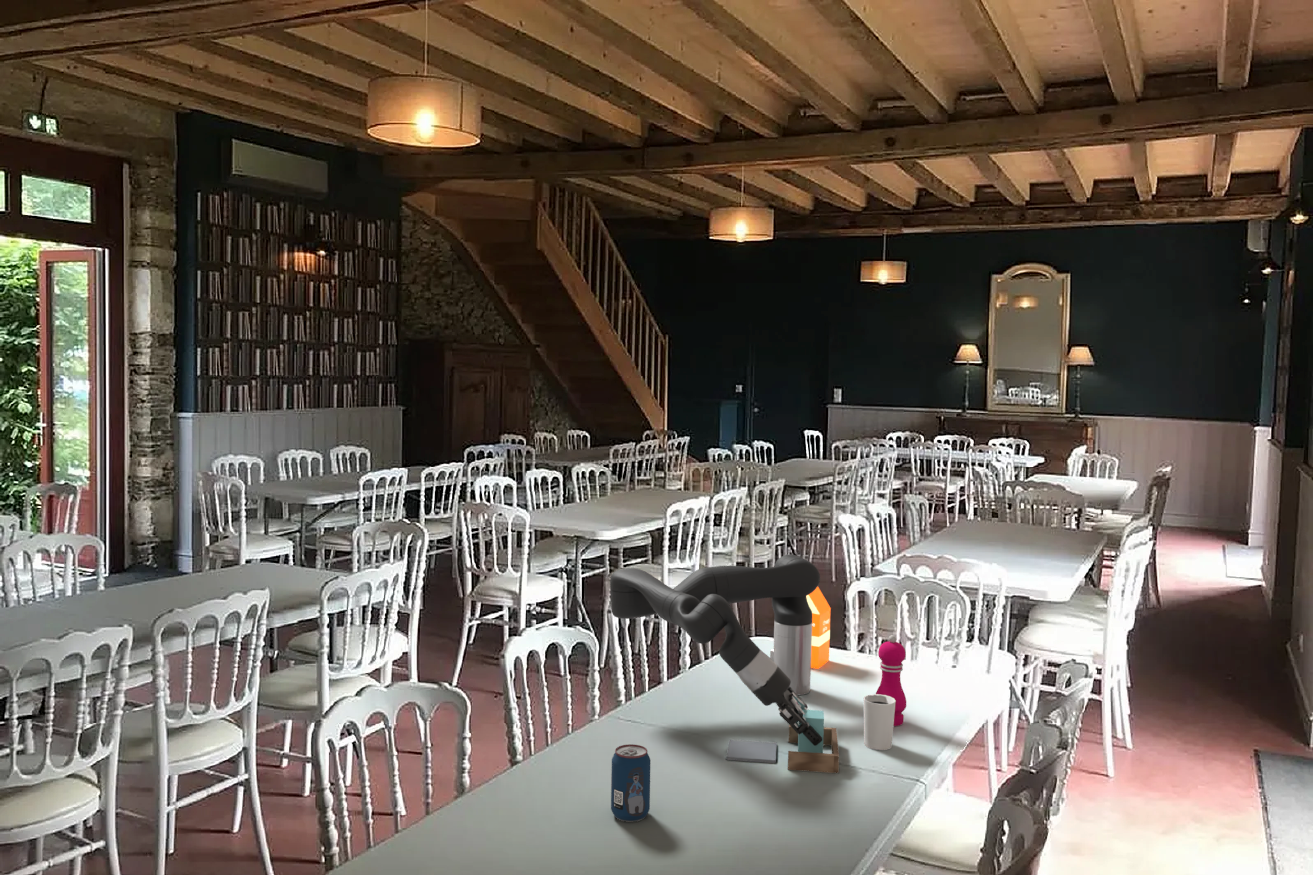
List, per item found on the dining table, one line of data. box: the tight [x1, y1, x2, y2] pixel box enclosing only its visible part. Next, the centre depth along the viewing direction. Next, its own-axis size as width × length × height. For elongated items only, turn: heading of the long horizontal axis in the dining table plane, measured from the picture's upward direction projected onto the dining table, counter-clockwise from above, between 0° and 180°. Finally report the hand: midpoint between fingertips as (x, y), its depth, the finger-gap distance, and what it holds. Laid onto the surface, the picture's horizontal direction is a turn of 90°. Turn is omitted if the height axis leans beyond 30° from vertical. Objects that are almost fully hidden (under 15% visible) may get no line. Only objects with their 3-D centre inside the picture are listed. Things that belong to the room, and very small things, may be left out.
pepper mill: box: [875, 634, 907, 727], centre depth 242 cm, size 7×7×20 cm
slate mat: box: [725, 739, 777, 764], centre depth 223 cm, size 10×10×1 cm
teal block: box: [797, 709, 825, 753], centre depth 221 cm, size 5×5×9 cm
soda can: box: [610, 744, 651, 823], centre depth 191 cm, size 7×7×12 cm
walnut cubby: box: [787, 724, 840, 774], centre depth 221 cm, size 10×16×4 cm, turn 173°
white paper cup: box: [863, 693, 896, 751], centre depth 228 cm, size 7×7×10 cm
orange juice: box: [806, 585, 832, 670], centre depth 287 cm, size 8×9×20 cm
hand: (818, 736), depth 220 cm, fingers open, 6 cm apart
